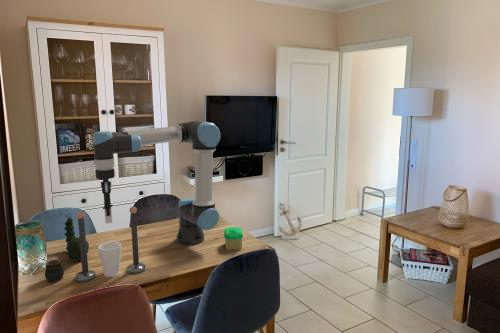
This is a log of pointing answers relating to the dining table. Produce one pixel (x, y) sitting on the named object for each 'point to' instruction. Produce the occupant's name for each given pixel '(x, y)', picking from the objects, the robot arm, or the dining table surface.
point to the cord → (134, 236)
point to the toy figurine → (73, 241)
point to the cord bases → (92, 274)
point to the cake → (233, 238)
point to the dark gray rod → (82, 242)
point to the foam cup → (110, 258)
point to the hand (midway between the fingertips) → (108, 222)
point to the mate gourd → (54, 270)
